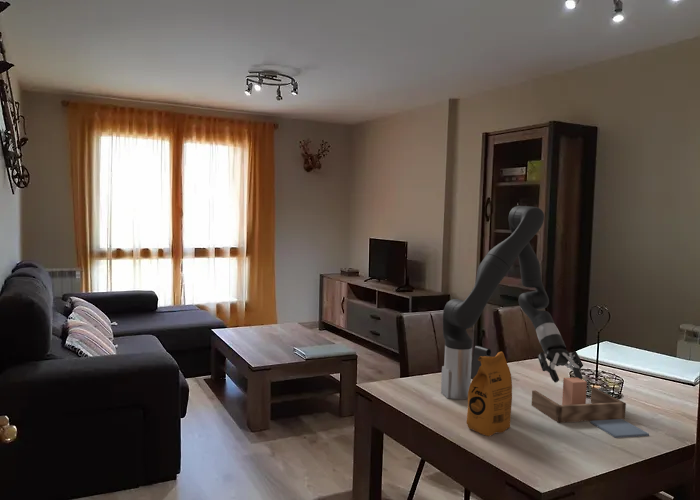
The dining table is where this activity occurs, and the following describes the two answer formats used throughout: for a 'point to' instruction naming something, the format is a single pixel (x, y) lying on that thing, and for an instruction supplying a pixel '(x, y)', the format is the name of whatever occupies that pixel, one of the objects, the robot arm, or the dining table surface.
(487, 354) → the door stopper
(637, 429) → the slate mat
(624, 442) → the dining table surface
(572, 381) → the terracotta block
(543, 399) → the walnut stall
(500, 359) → the coffee package
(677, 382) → the dining table surface
